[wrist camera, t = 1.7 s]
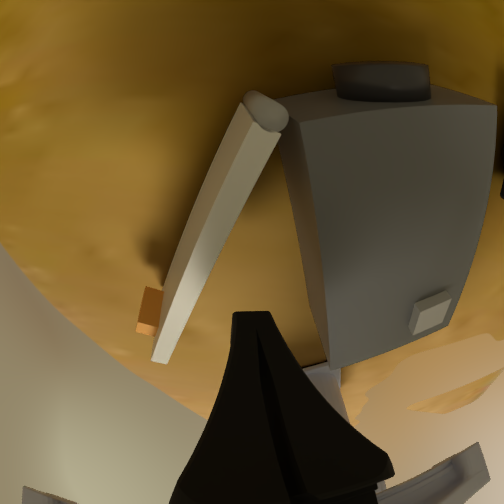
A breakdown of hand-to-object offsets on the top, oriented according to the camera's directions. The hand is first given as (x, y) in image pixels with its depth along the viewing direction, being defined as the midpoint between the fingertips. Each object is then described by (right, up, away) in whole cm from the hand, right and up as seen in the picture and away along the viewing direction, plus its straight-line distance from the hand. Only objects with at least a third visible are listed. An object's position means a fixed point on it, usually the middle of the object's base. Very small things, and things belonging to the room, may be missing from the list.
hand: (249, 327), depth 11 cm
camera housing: (+6, +5, +3) cm, 9 cm away
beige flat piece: (-3, +5, +2) cm, 6 cm away
